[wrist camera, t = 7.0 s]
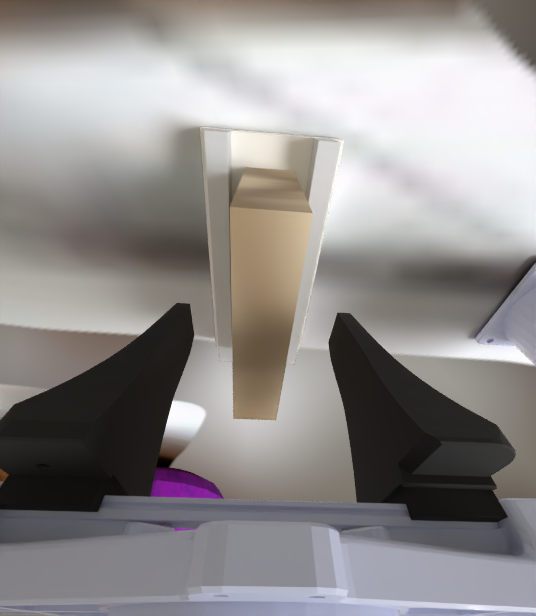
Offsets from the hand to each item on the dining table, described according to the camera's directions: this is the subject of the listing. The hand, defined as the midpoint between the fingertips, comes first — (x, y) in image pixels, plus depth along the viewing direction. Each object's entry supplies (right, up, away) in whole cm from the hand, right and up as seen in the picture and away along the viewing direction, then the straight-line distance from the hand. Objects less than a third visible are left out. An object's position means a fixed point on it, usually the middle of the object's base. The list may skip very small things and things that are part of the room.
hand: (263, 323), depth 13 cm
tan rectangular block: (0, +3, +4) cm, 5 cm away
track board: (0, +4, +5) cm, 6 cm away
